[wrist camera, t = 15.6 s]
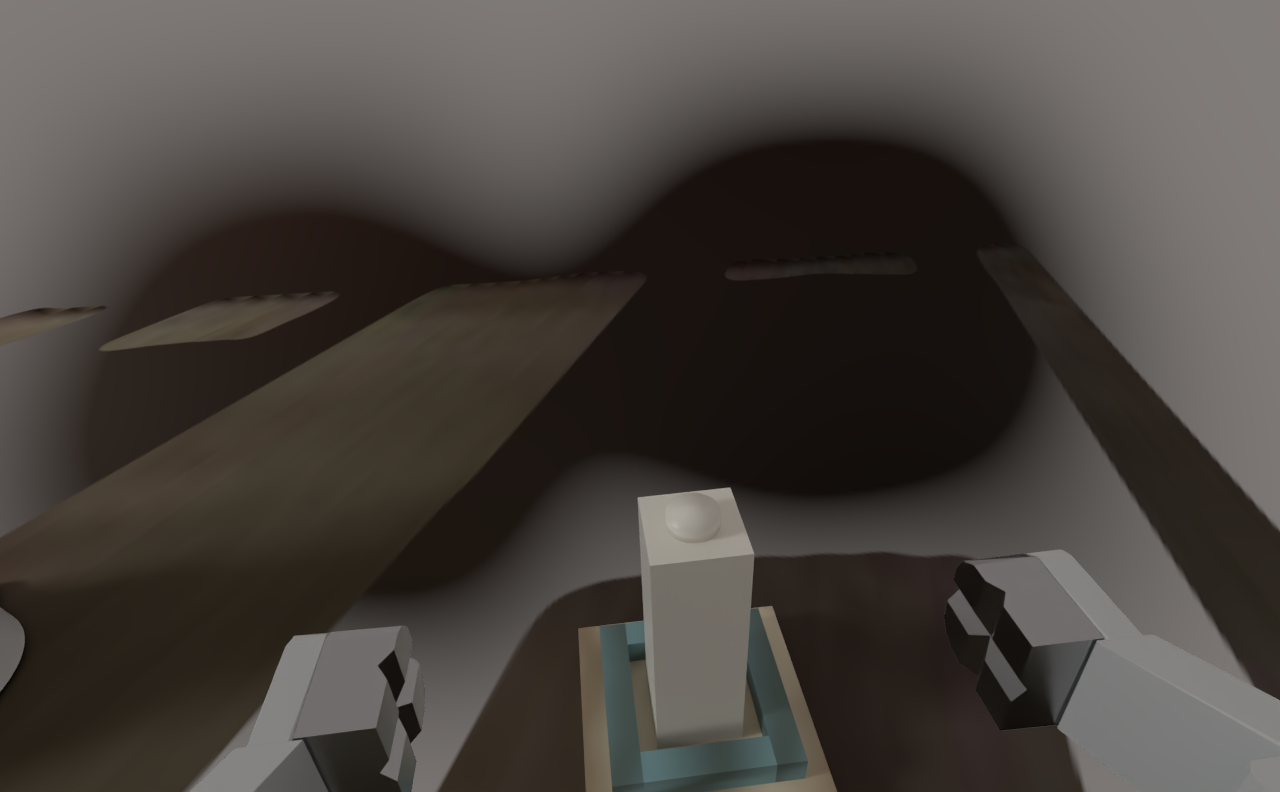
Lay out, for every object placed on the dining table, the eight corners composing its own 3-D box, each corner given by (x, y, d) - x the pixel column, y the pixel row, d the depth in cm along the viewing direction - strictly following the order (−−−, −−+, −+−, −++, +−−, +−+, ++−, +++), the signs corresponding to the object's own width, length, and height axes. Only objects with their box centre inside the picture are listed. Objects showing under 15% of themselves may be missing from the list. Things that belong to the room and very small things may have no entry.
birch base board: (591, 858, 33) (585, 819, 32) (581, 650, 44) (576, 611, 42) (836, 824, 34) (844, 784, 33) (770, 627, 45) (773, 589, 43)
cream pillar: (657, 749, 36) (649, 551, 29) (646, 675, 40) (636, 484, 32) (742, 737, 36) (755, 539, 29) (723, 665, 40) (730, 474, 33)
